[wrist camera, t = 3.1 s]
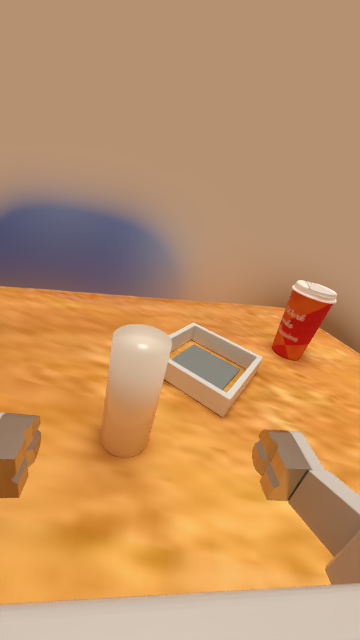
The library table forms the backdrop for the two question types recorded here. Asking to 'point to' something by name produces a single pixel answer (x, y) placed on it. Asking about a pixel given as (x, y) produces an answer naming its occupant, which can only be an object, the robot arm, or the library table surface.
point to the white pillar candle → (133, 387)
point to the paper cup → (302, 318)
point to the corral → (209, 368)
